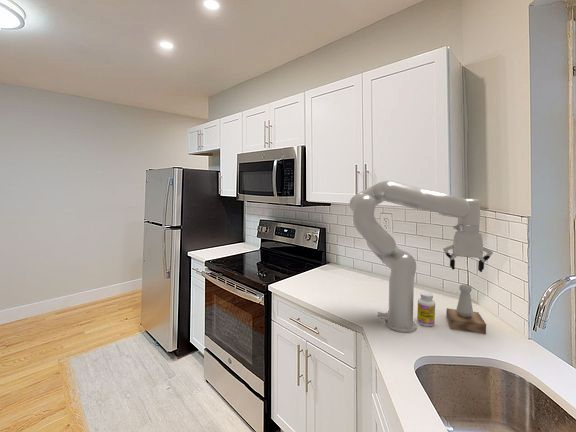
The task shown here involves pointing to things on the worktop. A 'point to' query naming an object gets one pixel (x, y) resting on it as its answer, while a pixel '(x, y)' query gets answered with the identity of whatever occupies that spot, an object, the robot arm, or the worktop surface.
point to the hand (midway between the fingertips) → (466, 269)
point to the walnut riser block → (466, 322)
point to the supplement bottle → (426, 309)
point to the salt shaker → (465, 302)
